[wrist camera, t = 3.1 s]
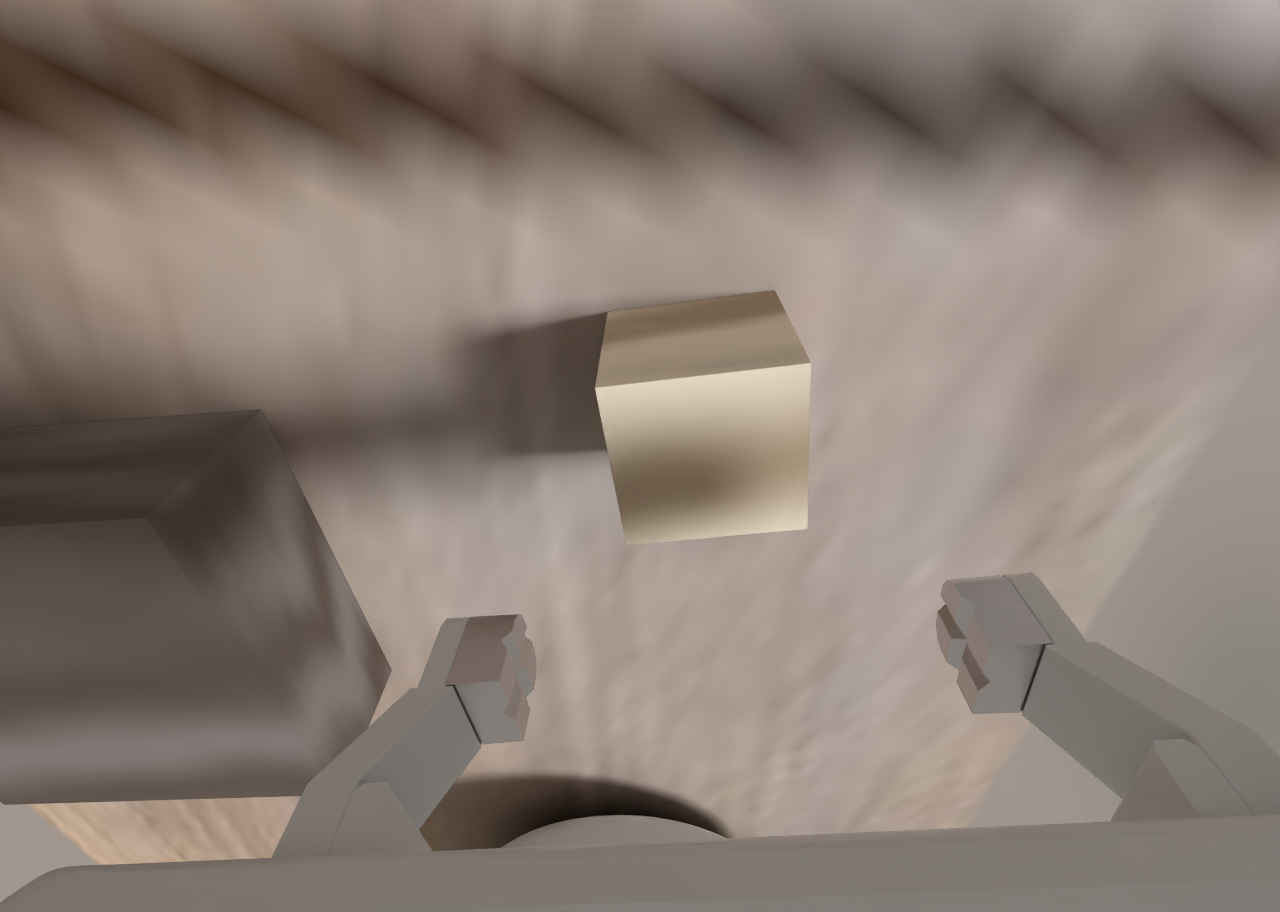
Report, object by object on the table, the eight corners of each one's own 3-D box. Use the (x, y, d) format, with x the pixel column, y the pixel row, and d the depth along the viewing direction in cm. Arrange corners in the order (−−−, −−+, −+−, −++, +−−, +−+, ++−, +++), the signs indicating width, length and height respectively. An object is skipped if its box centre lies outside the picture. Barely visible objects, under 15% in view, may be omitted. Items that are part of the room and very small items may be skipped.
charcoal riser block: (-111, 431, 22) (-338, 546, 17) (266, 404, 21) (145, 518, 16) (113, 676, 29) (4, 804, 24) (394, 664, 29) (340, 794, 24)
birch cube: (608, 310, 18) (594, 387, 14) (774, 289, 18) (810, 362, 14) (631, 447, 21) (626, 545, 17) (776, 431, 21) (807, 528, 17)
